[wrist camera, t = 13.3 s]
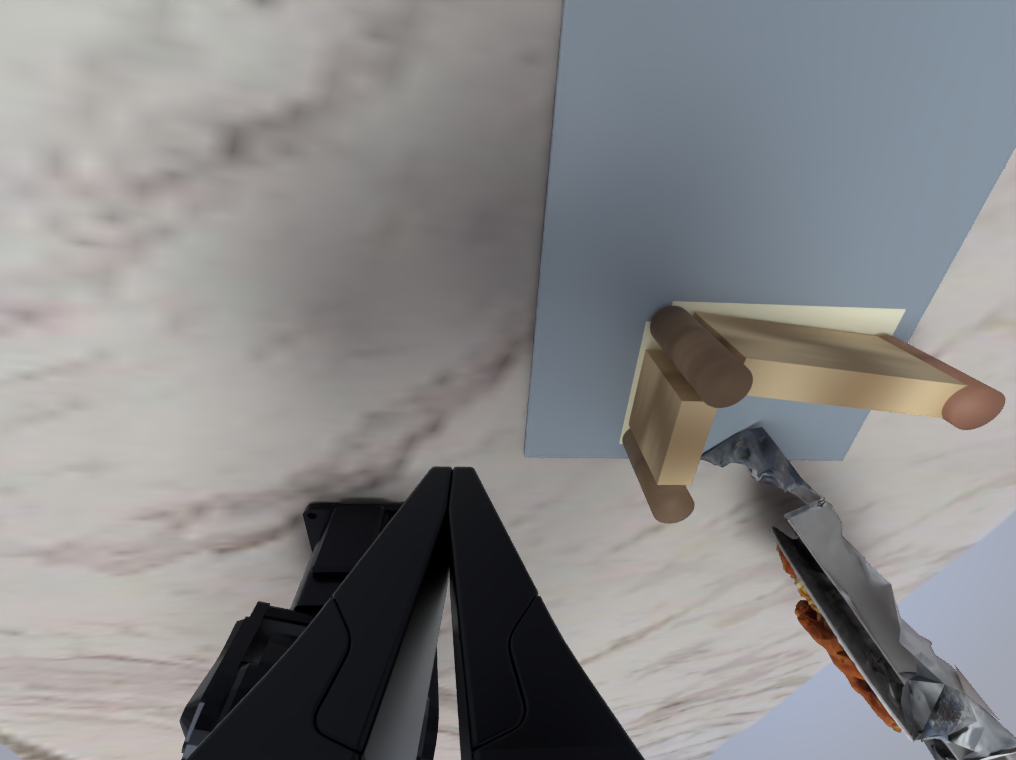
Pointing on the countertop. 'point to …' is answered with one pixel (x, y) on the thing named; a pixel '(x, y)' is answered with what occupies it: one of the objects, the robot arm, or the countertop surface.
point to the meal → (868, 621)
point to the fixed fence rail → (666, 436)
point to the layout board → (755, 188)
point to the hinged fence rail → (817, 368)
